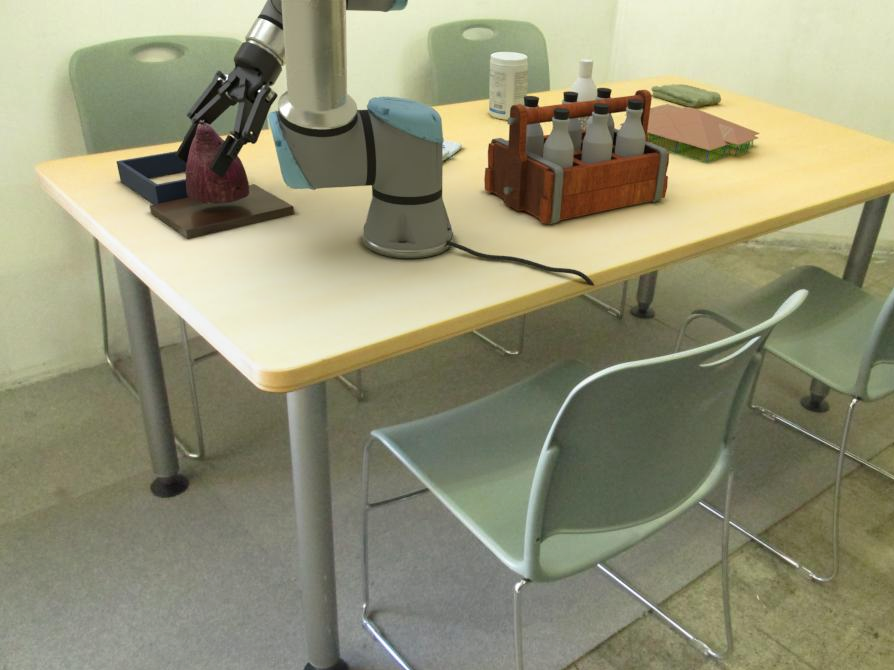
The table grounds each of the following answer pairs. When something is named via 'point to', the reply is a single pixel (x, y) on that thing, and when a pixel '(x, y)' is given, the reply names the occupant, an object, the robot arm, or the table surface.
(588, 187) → the milk bottle holder
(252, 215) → the cutting board
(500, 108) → the supplement tub
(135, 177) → the square frame
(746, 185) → the table surface
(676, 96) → the washcloth
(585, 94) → the bath foam
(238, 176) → the vegetable
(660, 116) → the house
